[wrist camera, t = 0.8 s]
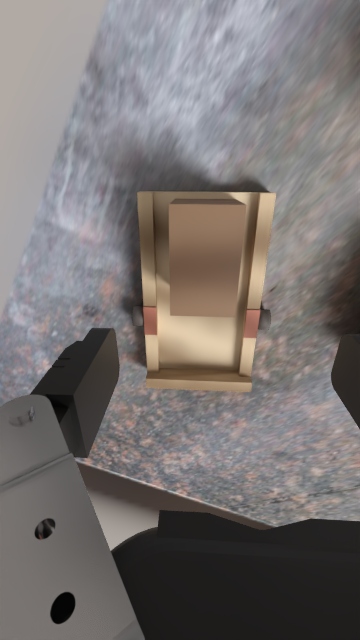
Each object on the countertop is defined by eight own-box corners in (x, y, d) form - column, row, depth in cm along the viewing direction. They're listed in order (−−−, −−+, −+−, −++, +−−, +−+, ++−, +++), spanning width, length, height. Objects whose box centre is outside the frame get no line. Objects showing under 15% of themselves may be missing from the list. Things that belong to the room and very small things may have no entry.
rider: (175, 198, 24) (168, 204, 18) (235, 199, 24) (246, 204, 18) (175, 288, 27) (170, 315, 22) (227, 290, 27) (235, 317, 22)
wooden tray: (128, 191, 25) (119, 192, 22) (284, 192, 24) (295, 193, 21) (140, 369, 33) (135, 387, 30) (256, 373, 33) (262, 392, 30)
